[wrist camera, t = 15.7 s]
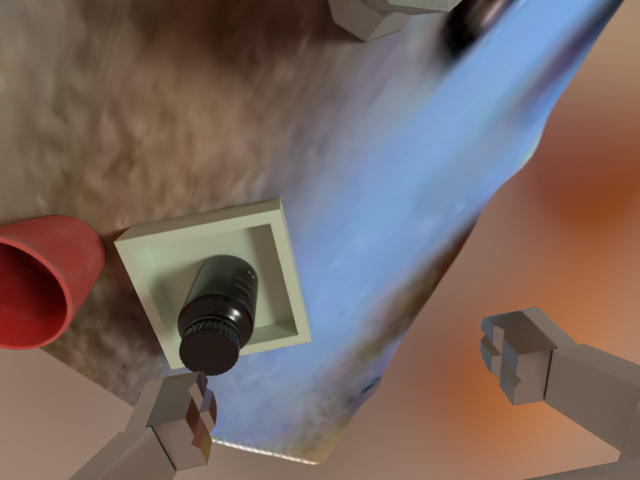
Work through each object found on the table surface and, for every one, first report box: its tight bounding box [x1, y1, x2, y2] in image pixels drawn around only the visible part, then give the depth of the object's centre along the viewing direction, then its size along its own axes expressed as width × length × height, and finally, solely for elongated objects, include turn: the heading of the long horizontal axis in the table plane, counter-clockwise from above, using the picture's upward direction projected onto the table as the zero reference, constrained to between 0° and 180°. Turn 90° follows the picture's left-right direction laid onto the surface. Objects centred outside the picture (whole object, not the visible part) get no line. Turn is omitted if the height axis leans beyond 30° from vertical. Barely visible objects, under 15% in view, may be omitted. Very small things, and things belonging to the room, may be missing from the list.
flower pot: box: [0, 215, 106, 350], centre depth 34 cm, size 11×11×10 cm
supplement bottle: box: [177, 255, 259, 376], centre depth 35 cm, size 7×7×12 cm
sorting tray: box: [114, 197, 311, 369], centre depth 39 cm, size 16×16×4 cm
